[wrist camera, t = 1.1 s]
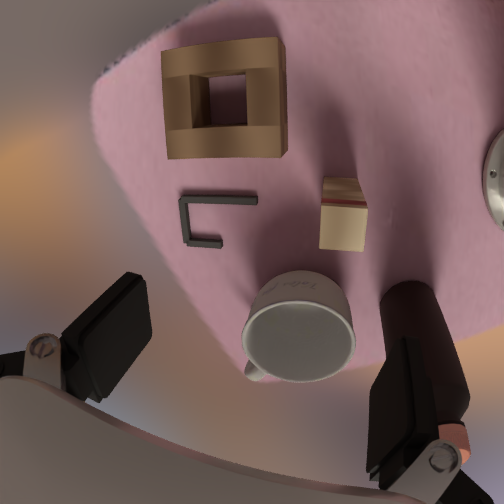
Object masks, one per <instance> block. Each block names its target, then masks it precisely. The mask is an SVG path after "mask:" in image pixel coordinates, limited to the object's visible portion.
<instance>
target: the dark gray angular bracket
mask: <svg viewBox="0 0 504 504" xmlns="http://www.w3.org/2000/svg"><path fill="white" fill-rule="evenodd" d="M178 201H179V210H180V218H181V226H182V234H183V242H184V243H187V246H190V247H204V248H218V249H221V248H222V247H223V240H214V239H198V238H191V229H190V221H189V212H188V203H205V204H239V205H257V204H258V196H233V195H183V196H181V198H180V199H179V200H178Z"/></svg>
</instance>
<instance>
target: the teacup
mask: <svg viewBox="0 0 504 504" xmlns="http://www.w3.org/2000/svg"><path fill="white" fill-rule="evenodd" d="M242 346H243V350H244V352H245V354H246V355H247V357H248V358H249V360H248V362H247V364H246V367H245V371H244V372H245V375H246V377H247V378H249V379H251V380H253V381H258V380H260V379H262V378H263V377H264V376H265V375H266V374H268V375H270V376H272V377H275V378H278V379H281V380H285V381H289V382H313V381H318V380H322V379H325V378H328V377H330V376H332V375H334V374H336V373H337V372H339V371H340V370H342V369H343V368H344V367H345V366H346V365H347V364H348V363H349V361H350V360H351V358H352V356H353V354H354V351H355V347H356V338H355V334H354V330H353V324H352V316H351V311H350V306H349V303H348V300H347V298H346V296H345V294H344V292H343V291H342V289H341V288H340V287H339V286H338V285H337V284H336V283H335V282H334V281H333V280H331V279H330V278H328V277H326V276H324V275H322V274H319V273H316V272H312V271H304V270H298V271H290V272H286V273H283V274H281V275H278V276H276V277H274V278H273V279H271V280H270V281H269V282H267V283H266V284H265V285H264V286H263V287H262V289H261V290H260V291H259V293H258V294H257V296H256V298H255V300H254V303H253V305H252V308H251V311H250V313H249V317H248V320H247V322H246V324H245V326H244V328H243V331H242Z"/></svg>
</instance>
